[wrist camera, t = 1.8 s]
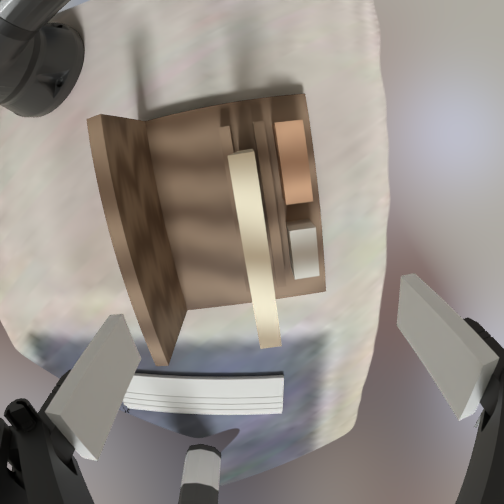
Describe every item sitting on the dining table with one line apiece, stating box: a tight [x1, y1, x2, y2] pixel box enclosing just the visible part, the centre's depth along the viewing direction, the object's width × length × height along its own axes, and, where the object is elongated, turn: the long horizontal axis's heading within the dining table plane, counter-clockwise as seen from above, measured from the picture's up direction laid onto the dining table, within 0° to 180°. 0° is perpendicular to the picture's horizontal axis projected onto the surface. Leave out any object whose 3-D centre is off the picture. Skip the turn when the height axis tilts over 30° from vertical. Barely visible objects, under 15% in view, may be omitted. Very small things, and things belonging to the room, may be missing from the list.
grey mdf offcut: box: [286, 219, 319, 279], centre depth 36 cm, size 6×3×4 cm, turn 9°
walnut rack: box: [87, 94, 326, 366], centre depth 32 cm, size 26×21×14 cm
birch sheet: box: [228, 149, 282, 349], centre depth 28 cm, size 14×2×18 cm, turn 9°
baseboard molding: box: [122, 373, 284, 415], centre depth 49 cm, size 31×3×12 cm
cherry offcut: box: [272, 120, 313, 205], centre depth 33 cm, size 9×3×4 cm, turn 9°
